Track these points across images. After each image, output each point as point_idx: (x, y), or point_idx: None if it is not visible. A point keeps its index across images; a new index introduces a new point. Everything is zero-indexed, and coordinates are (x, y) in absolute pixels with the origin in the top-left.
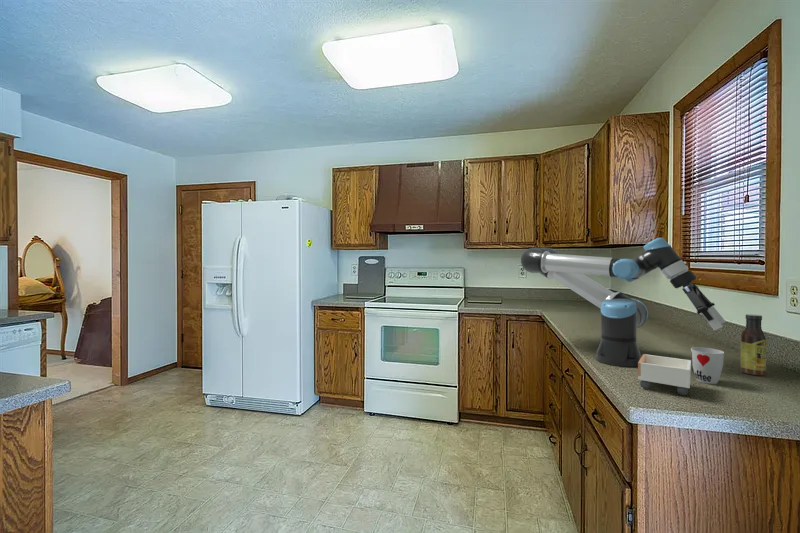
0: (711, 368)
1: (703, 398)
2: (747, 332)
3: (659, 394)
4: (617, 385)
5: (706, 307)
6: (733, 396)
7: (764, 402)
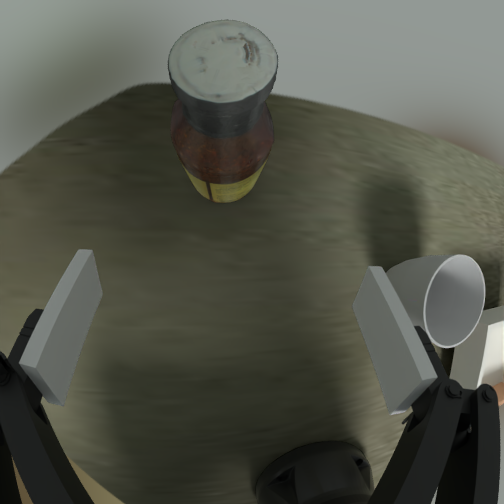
0: (450, 280)
1: (494, 281)
2: (257, 143)
3: None
4: None
5: (461, 397)
6: (466, 234)
7: (467, 187)
